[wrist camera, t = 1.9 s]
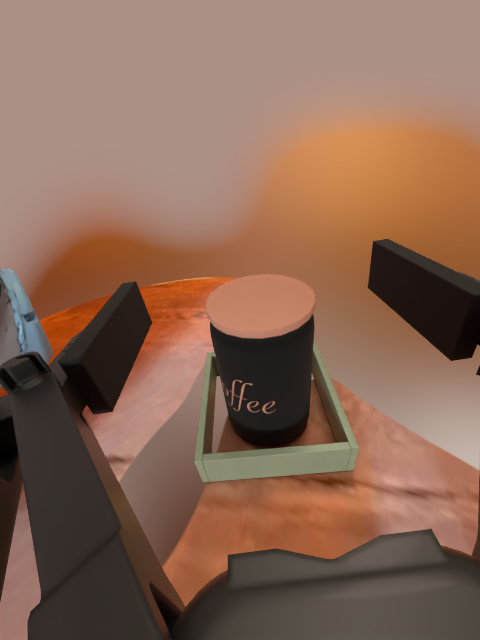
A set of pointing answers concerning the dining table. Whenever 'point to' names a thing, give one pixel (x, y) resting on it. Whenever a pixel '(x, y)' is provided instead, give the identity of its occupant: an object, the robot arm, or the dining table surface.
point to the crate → (275, 459)
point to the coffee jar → (264, 354)
